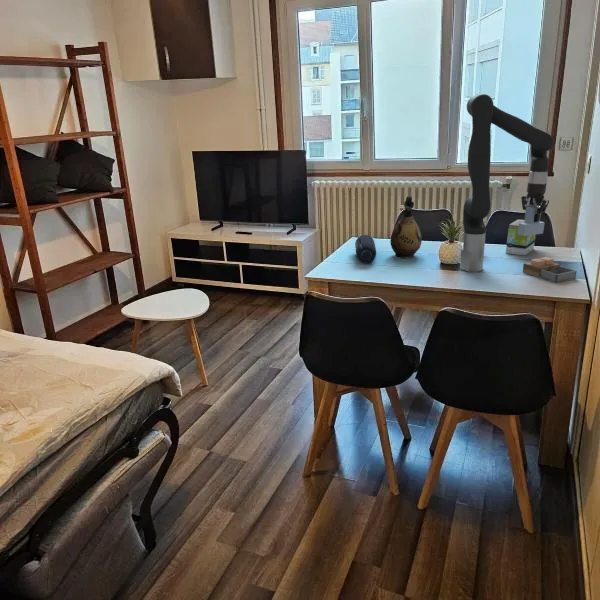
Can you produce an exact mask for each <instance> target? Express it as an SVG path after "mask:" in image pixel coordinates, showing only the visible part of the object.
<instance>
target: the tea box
mask: <svg viewBox="0 0 600 600" xmlns="http://www.w3.org/2000/svg"><path fill="white" fill-rule="evenodd" d="M519 223H524V219H516V220H515V221H513V222H511V223H510V224H509V225H508V230H507V231H508V232H507V238H506V239H507V240H506V246H505V253H506V254H509V255H510V254H511V255H518V256H526V255H527V254H529V253H530V252H531V251H533V250H534V249H535V243H536V242H535V241H536V236H537V234H535V235H528V236H522V235H519V234H518V227H519Z"/></svg>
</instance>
